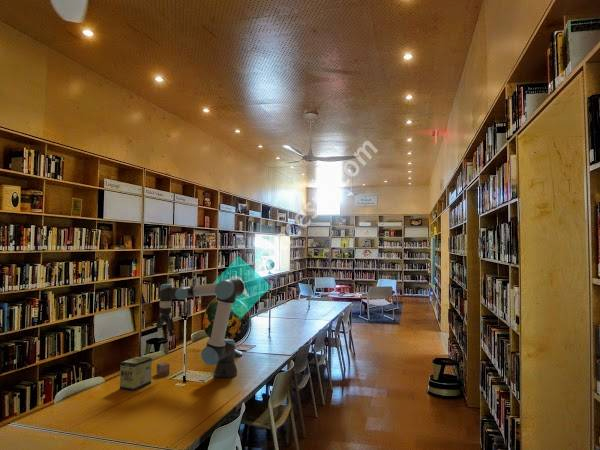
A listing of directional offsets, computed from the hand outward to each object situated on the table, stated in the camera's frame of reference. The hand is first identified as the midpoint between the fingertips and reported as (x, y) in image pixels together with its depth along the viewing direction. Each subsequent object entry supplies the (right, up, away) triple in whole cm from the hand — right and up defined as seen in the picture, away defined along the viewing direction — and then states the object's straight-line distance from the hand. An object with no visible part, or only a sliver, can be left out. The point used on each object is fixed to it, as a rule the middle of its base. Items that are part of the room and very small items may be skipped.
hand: (164, 339), depth 274 cm
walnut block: (0, -22, -4) cm, 22 cm away
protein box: (-9, -21, -27) cm, 35 cm away
